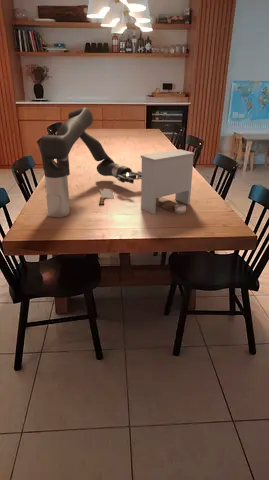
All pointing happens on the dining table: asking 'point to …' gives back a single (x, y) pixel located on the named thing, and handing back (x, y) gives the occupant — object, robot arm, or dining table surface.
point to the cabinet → (166, 177)
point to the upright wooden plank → (166, 203)
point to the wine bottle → (64, 161)
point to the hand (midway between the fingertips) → (140, 180)
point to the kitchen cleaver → (105, 195)
